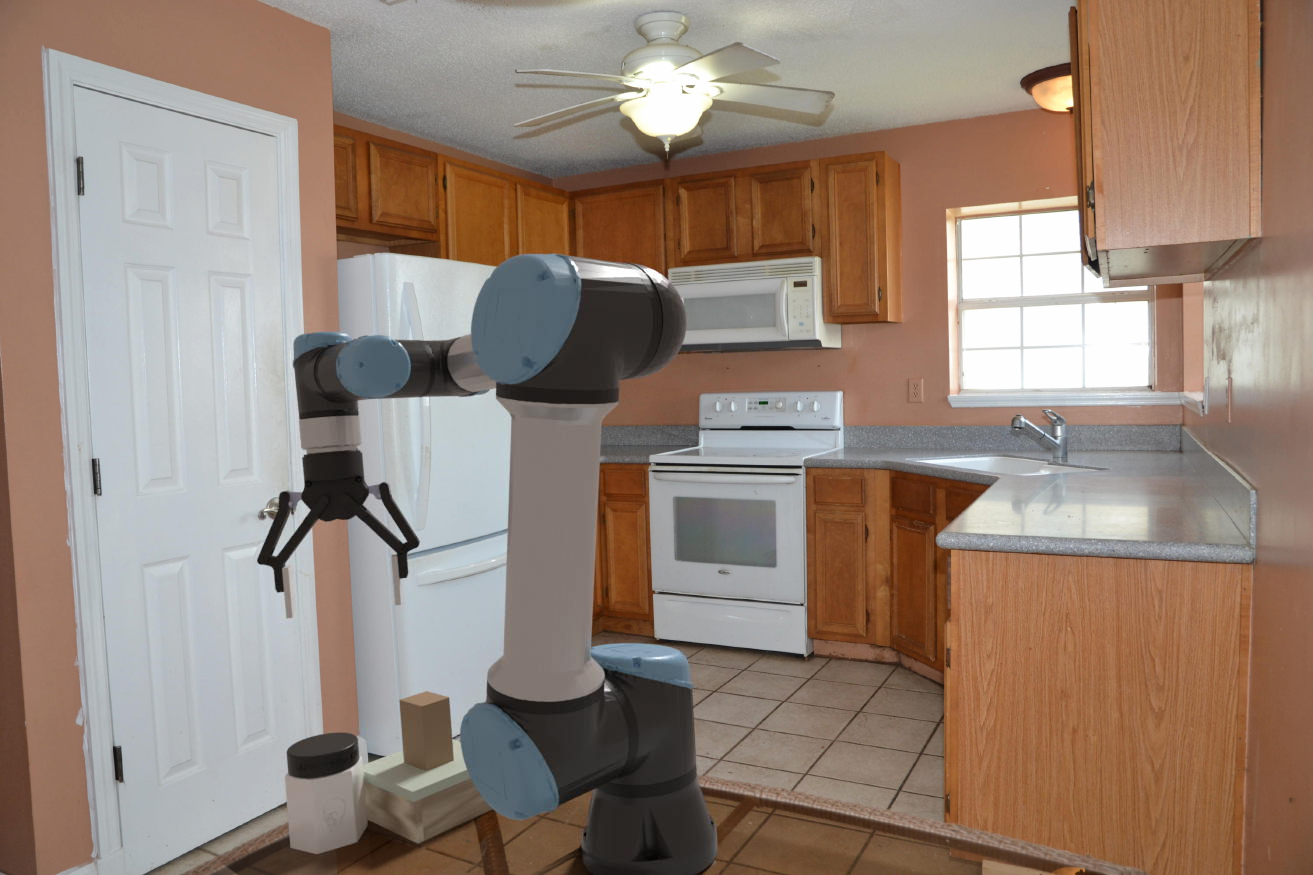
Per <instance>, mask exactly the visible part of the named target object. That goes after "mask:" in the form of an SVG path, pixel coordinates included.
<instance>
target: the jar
mask: <svg viewBox="0 0 1313 875" xmlns="http://www.w3.org/2000/svg"><path fill="white" fill-rule="evenodd" d="M286 763H287V764H286V766H287V773H286V774H285V775H284V782H285V784H284V785H285V794H286V795H285V796H286V805H287V806H286V809H287V819H288V820H287V822H288V835H289V844H290V845H289V847H290V849H293V850H299V851H302V852H305V853H310V854H315V855H318V854H319V855H320V854H323V853H326V852H329V851H333V850H335V849H339V848H342V847H346V846H349V845H353V844H355V843H358V842H359V840H360V839H361V837H362V835H363V834H364V832H365V830H366V829H367V827H368V820H367V810H366V797H365V785H364V772H363V765H364V761H363V756H362V755H360V748H359V738H358V737H357V735H355V734H354V733H349V732H328V733H321V734H317V735H313V736H309V737H306V738H303V739H301V740H299V741H296V742H294V743H293V744H292V745H290V746H289V747H288V748H287V750H286Z"/></svg>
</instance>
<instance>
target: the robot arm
mask: <svg viewBox="0 0 1313 875" xmlns="http://www.w3.org/2000/svg"><path fill="white" fill-rule="evenodd" d="M470 323H471V325H470V333H469V334H464V335H463V336H458V337H455V338H451V339H442V340H438V339H437V340H435V339H434V340H422V339H394V338H393V337H391V336H388V335H385V334H383V335H382V334H374V335H362V336H359V337H357V338H353V339H352V337H351V336H350V335H349V334H348V333H346V332H341V331H315V332H310V333H302V334H300V335H298V336H296V338H295V339H294V340H293V348H292V349H293V360H292V368H293V369H294V379H295V389H296V400H297V409H298V410H297V411H298V425H299V437H300V447H301V448H300V449H302V450H303V451H306V454H303V456H302V457H301V458H302V471H303V483H304V484H303V485H304V487H303V490H302V491H299V492H298V491H290V490H283V491H281V492H280V493H279V494H278V509H277V512H276V514H275V517H274V519H273V521H272V524H271V526H270V528H269V531H268V534H267V535H266V538H265V539H264V541H263V544H262V547H261V549H260V551H259V553H258V557H257V558H256V559H257V560H256V563H257V564H258V565H261V566H267V567H270V568H272V570H273V577H274V580H273V581H274V589H275V592H276V593H278V594H279V593H283V594H284V595H283V596H284V606H285V618H286V619H293V618H294V617H295V616H296V615H297V608H296V598H295V597H296V595H295V584H294V583H295V582H294V572H293V565H292V564H291V565H286V563H287V562H288V560H289V559H290V558H291V556H292V555H293V554H294V552H295V551H296V550H297V548H298V547H299V545H300V544H301V543H302V542H303V540H304V539H305V537H306V536H307V535H308V533H309V532H310V531H311V530H312V528H313V527H314V526H315V524H316V523H317V522H318V521H319V520H320V521H322V522H324V523H326V522H327V523H328V522H333V521H335V520H341V521H347V520H352V519H353V518H355V517H357V518H358V519H359V520H361V521H362V522H363V523H364V524H365V525H366V526H368V527H369V529H371V530H372V531H373V532H374V533H375V535H377V536H378V537H379V538H380V539H381V540H383V542H384V543H386V544H387V546H388V547H390V549H392V550H393V551H394V552H395V553H392V554H391V556H390V560H391V570H392V571H391V572H392V581H393V582H392V583H393V585H392V586H393V594H394V595H393V596H394V604H395V605H394V606H400V605H401V606H402V605H403V604H402V603H403V594H402V582H401V581H402V580H401V579H408V575H409V563H408V553H409V552H410V551H413V550H416V549H417V548H418V547H419V546H420V542H421V541H420V539H419V537H418V535H416V533H415V531H414V529H413V528H412V527H411V525H410V523H409V522H408V520H407V518H406V517H405V516H404V514H403V512H402V510H401V509H400V507H399V505H398V504H397V503H396V502H395V499H394V498H393V496H392V491H391V487H390V486H391V485H390V483H389V482H387V481H383V482H381V483H378V484H372V485H368V484H367V483H366V480H365V472H364V471H365V470H364V459H363V451H361V450H360V449H359V448H358V446H360V445H361V444H362V436H361V424H360V413H359V403H358V402H359V401H364V400H377V399H378V400H380V399H381V400H383V399H384V400H385V399H407V398H427V397H430V398H432V397H436V398H437V397H438V398H439V397H460V398H466V397H468V398H469V397H474V396H479V395H480V396H481V395H485V394H486V393H489V392H490V390H493V389H495V400H497V402H498V403H499V404H500V405H501V406H502V407H503V408H504V409H505V410H506V411H507V413H509V415H510V420H511V421H510V423H511V424H510V450H509V478H508V480H509V482H508V505H507V506H508V509H507V511H508V513H507V537H506V538H507V539H506V540H507V543H506V571H505V572H506V573H505V598H504V599H505V600H504V629H503V630H504V632H503V654H502V656H501V657H500V658H498V659H497V660H496V661H495V662H494V663H493V664H492V665H490V667H489V668H488V670H487V673H486V674H487V675H486V676H487V677H486V698H485V699H486V700H485V701H484V702H476V703H475V704H474V705H473V706H472V707H471V708H470V709H468V711H467V712H466V714H464V716H463V718H462V720H461V724H460V727H459V729H460V730H459V741H460V742H461V749H462V755H463V759H464V762H465V765H466V768H467V770H468V773H469V775H470V777H471V779H472V781H473V783H474V785H475V787H476V788H477V790H478V792H479V793H480V795H481V796H482V797H483V799H484V800H485V801H486V802H487V803H488V805H489V806H490V807H492V808H493V810H494V811H495V812H497V813H498V814H499V815H501V816H503V817H504V818H507V819H510V820H514V821H524V820H527V819H531V818H533V817H535V816H538V815H540V814H544V813H551V812H553V811H555V810H556V809H557V808H558V807H559V806H561V805H564V804H566V803H567V802H570V801H572V800H575V799H576V798H579V797H581V796H583V795H584V794H587V793H589V792H591V791H592V795H591V799H590V803H589V807H588V813H587V819H586V825H585V826H584V829H583V831H582V836H581V853H582V862H583V865H584V867H585V869H586V870H587V871H588V872H589V873H590V874H591V875H698V874H699V873H702V871H704V870H705V869H707V868H708V867H709V866H710V865H711V864H712V863H713V862H714V860H715V859H716V857H717V855H718V848H719V847H718V845H719V844H718V833H717V827H716V826H717V825H716V823H715V822H714V819H713V817H712V816H711V814H710V813H709V809H708V806H707V803H706V800H705V796H704V794H703V793H704V792H703V791H702V789H701V785H700V783H699V780H698V769H697V752H696V734H695V732H696V731H695V715H694V699H693V698H694V694H693V689H694V684H693V683H692V680H691V673H690V672H691V671H690V663H689V661H688V658H687V657H686V655H685V654H684V653H683V652H682V651H680V650H679V649H676V648H674V647H671V646H665V645H661V644H651V643H639V642H638V643H634V642H629V643H628V642H627V643H625V642H624V643H623V642H622V643H621V642H620V643H606V644H599V645H595V646H592V635H593V634H592V632H593V630H592V628H593V614H594V613H593V610H594V594H595V593H594V592H595V591H594V590H595V588H594V587H595V570H596V568H595V567H596V566H595V565H596V550H597V549H596V547H597V546H596V545H597V530H598V529H597V528H598V525H597V524H598V510H599V509H598V508H599V507H598V506H599V488H600V487H599V485H600V484H599V483H600V464H601V462H600V461H601V448H602V446H601V445H602V444H601V443H602V426H603V425H602V424H603V421H604V419H605V417H606V416H607V415H608V414H609V413H610V412H611V411H612V410H613V409H615V408H617V406H618V405H619V399H620V398H619V397H620V384H621V382H620V381H624V380H633V379H634V380H635V379H641V378H645V377H648V376H649V377H650V376H651V375H654V374H656V373H658V372H660V371H662V370H663V369H664V368H666V367H667V366H668V365H669V364H671V363H672V361H673V360H674V359H675V357H677V355H678V353H679V352H680V350H681V348H682V346H683V343H684V341H685V338H686V334H687V333H686V332H687V326H688V324H687V313H686V309H685V305H684V302H683V299H682V296H681V295H680V293H679V292H678V290H677V288H676V287H675V285H673V284H672V282H671V281H669V280H668V279H667V277H666V276H664V275H663V274H661V273H660V272H659V271H657V270H655V269H652V268H650V267H648V266H645V265H644V264H643V265H642V264H639V263H632V262H617V261H609V260H603V259H596V258H588V257H582V256H581V257H580V256H573V255H568V254H567V255H565V254H558V253H553V252H552V253H524V254H517V255H514V256H512V257H509V258H508V259H506V260H504V261H503V262H501V263H500V264H498V265H497V266H496V267H495V269H493V271H492V273H491V274H490V277H488V278H486V279H485V281H484V282H483V284H482V286H481V289H480V290H479V293H478V295H477V297H476V300H475V304H474V307H473V310H472V317H471V322H470ZM370 494H371V495H373V496H374V497H375V499H377V500H378V501H379V500H381V502H382V505H383V506H384V507H385V509H386V511H387V513H388V514H389V515H390V518H392V520H393V521H394V523H395V525H396V526H397V528H398V530H399V531H400V533H401V534H402V535H403V537H404V540H406V541H405V542H404V543H403V542H402V540H401V539H399V538H398V537H397V536H396V535H395V534H394V533H393V532H392V531H391V530H390V529H389V528H388V527H386V525H384V524H383V523H382V521H380V520H379V519H378V518H377V517H376V516H375V515H374V514H373V513H372V512H371V511H370V510H369V509H368V508H367V507H366V506H365V505H364V503H365V502H366V500H367V499H368V497H369V496H370ZM300 501H302V503H303V504H304V505H305V506H306V507H307V508H308V509H309V510H310V511H309V512H308V513H307V515H306V516H305V517H304V518H303V520H302V521H301V523H300V524H299V525H298V527H297V529H296V530H295V531H294V533H293V534H292V535H291V537H290V538H289V539H288V541H287V542H286V544H284V546H283V547H282V549H281V550H280V551H279V553H278V554H277V555H274V552H275V550H276V547H277V545H278V544H279V543H278V542H279V540H280V539H281V537H282V536H281V535H282V534H283V532H284V529H285V527H286V524H287V522H288V520H289V518H290V515H291V512H292V509H293V508H295V507H297V505H298V503H299V502H300Z"/></svg>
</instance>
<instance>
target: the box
mask: <svg viewBox="0 0 1313 875" xmlns="http://www.w3.org/2000/svg"><path fill="white" fill-rule="evenodd" d="M364 785H365V797H366V810H367V821H370V822H372V823H374V824H376V825H378V826H380V827H381V828H384V829H386V830H388V831H390V832H393V833H394V834H397V835H399V836H401V837H402V838H405V839H407V840H409V841H411V842H414V843H415V844H417V845H419V844H422V843H423V842H426V841H429V839H432V838H434V837H436V836H439V835H441V834H443V833H445V832H447V831H449V830H451V829H453V828H456V827H458V826H459V825H462V824H464V823H467V822H469V821H472V820H474V819H475V818H477V817H479V816H483V815H484V814H487V813H488V812H491V811H493V810H494V809H493V808H492V807H490V806H489V805H488V803H487V802H486V801H485V800H484V799H483V797H482V796H481V795H480V793H479V792H478V790H477V788H476V787H475V785H474V783H473V781H472V779H471V778H470V779H467V780H465V781H463V782H460V783H458V784H455V785H453V786H451V787H448V788H446V789H443V790H441V791H439V792H436V793H434V794H432V795H429V796H427V797H424V798H422V799H420V800H417V801H415V802H412V801H410V800H408V799H405V798H403V797H401V796H398V795H396V794H394V793H391V792H389V791H387V790H384V789H382V788H380V787H377V786H375V785H373V784H370V783H368V782H366V781H364Z"/></svg>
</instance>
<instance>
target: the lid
mask: <svg viewBox="0 0 1313 875" xmlns="http://www.w3.org/2000/svg"><path fill="white" fill-rule="evenodd" d="M399 714H400V726H401V727H400V728H401V740H402V742H401V743H402V750H400V751H397V752H394V753H391V754H389V755H386V756H384V757H381V758H378V759H375V760H373V761H369V762H368V763H367V762H366V763H363V772H364V781H366V782H368V783H370V784H373V785H375V786H377V787H380V788H382V789H384V790H387V791H389V792H391V793H394V794H396V795H398V796H401V797H403V798H405V799H408V800H410V801H412V802H415V801H417V800H420V799H422V798H424V797H427V796H429V795H432V794H434V793H436V792H439V791H441V790H443V789H446V788H448V787H451V786H453V785H455V784H458V783H460V782H463V781H465V780H467V779H470V778H471V777H470V775H469V773H468V770H467V768H466V765H465V762H464V759H463V755H462V749H461V742H460V740H457V739H454V738H453V731H452V717H451V714H452V713H451V702H450V697H449V696H446V695H442V694H438V693H435V692H432V691H428V690H426V691H422V692H419V693H417V694H414V695H410V696H407V697H404V698H400V699H399Z"/></svg>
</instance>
